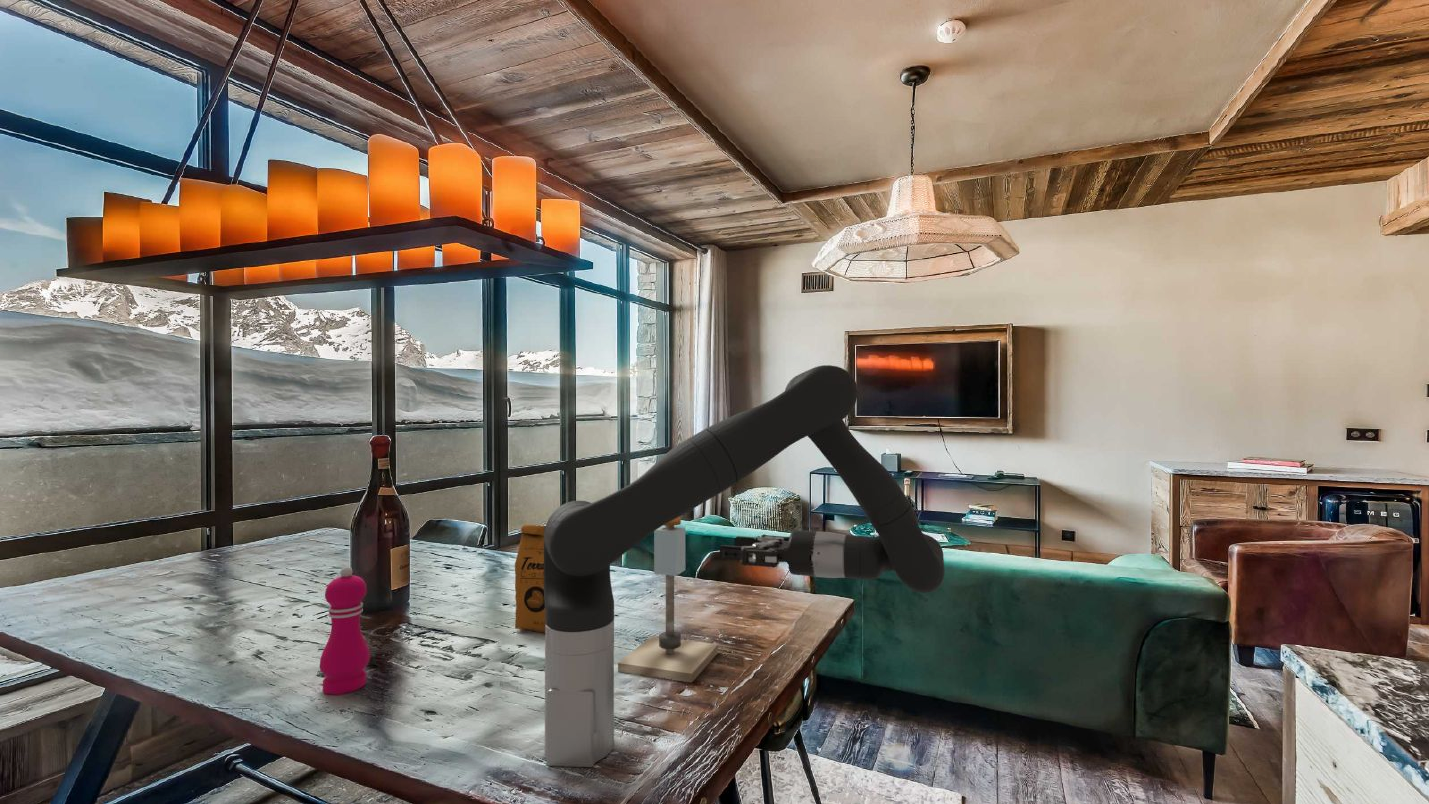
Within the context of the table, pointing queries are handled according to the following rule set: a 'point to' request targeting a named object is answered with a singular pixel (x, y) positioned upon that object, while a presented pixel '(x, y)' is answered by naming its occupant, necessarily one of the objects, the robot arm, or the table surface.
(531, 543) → the coffee package
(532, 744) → the table surface
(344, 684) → the pepper mill
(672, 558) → the sleeve
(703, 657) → the rod stand
